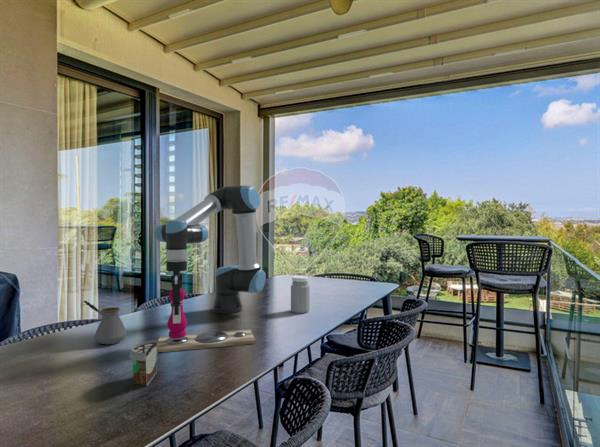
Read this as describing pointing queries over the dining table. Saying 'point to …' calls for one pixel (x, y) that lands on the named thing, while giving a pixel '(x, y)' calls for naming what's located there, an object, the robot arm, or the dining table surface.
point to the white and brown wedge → (144, 362)
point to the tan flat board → (194, 344)
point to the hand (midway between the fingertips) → (177, 320)
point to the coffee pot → (109, 326)
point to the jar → (300, 294)
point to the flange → (177, 340)
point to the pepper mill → (178, 328)
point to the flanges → (216, 336)
